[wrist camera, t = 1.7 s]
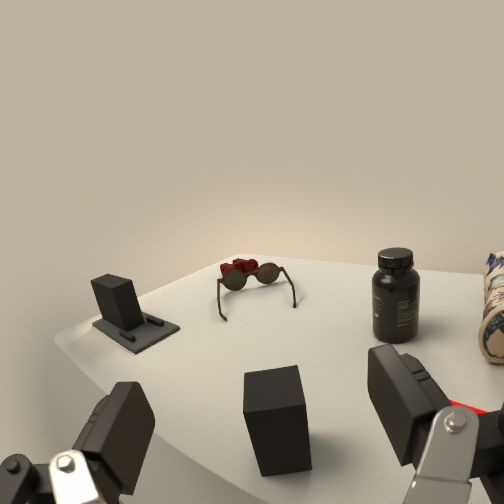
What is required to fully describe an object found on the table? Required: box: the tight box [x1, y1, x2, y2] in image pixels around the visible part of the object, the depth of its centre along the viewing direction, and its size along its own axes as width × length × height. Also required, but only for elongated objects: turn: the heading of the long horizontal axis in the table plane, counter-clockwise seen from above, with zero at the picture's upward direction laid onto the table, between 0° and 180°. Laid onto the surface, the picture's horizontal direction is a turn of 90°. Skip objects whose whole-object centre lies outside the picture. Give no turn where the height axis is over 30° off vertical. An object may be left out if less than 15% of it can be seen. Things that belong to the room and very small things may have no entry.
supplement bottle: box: [372, 248, 420, 343], centre depth 40 cm, size 7×7×12 cm
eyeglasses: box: [217, 263, 296, 321], centre depth 62 cm, size 15×15×5 cm
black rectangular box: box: [243, 365, 312, 476], centre depth 24 cm, size 4×5×9 cm
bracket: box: [220, 258, 259, 276], centre depth 80 cm, size 3×6×10 cm
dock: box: [91, 274, 180, 354], centre depth 57 cm, size 10×20×10 cm, turn 50°
